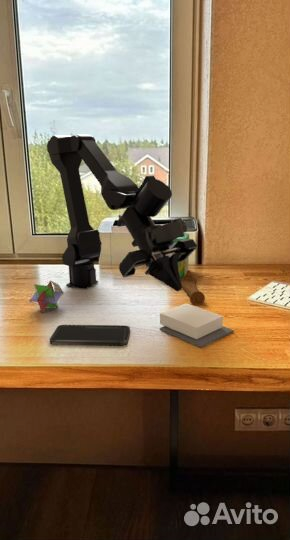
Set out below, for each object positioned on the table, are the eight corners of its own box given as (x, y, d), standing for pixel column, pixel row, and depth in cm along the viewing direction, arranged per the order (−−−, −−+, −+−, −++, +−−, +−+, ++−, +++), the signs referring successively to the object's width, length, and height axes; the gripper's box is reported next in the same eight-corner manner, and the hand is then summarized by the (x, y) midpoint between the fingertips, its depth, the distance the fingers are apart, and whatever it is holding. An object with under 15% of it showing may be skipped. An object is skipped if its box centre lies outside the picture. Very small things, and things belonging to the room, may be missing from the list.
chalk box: (153, 277, 118) (153, 226, 114) (159, 268, 127) (159, 220, 122) (185, 279, 116) (186, 227, 112) (189, 269, 125) (190, 221, 120)
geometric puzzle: (48, 310, 89) (57, 276, 91) (20, 307, 91) (30, 273, 93) (62, 319, 95) (70, 286, 98) (36, 315, 97) (44, 284, 100)
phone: (126, 343, 77) (47, 341, 78) (126, 348, 77) (48, 346, 78) (130, 325, 84) (58, 324, 85) (130, 330, 85) (59, 329, 86)
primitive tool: (175, 281, 115) (175, 269, 114) (194, 280, 116) (194, 268, 115) (190, 306, 97) (190, 293, 96) (212, 305, 98) (213, 291, 97)
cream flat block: (159, 313, 84) (197, 327, 77) (185, 303, 89) (222, 316, 82) (159, 325, 85) (196, 340, 78) (185, 314, 90) (222, 328, 83)
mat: (160, 329, 84) (159, 328, 84) (192, 316, 90) (192, 314, 90) (201, 348, 76) (201, 346, 76) (233, 331, 82) (233, 330, 82)
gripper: (126, 211, 77) (168, 280, 73) (192, 202, 89) (231, 260, 85) (103, 245, 85) (139, 309, 80) (166, 232, 97) (200, 287, 92)
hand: (179, 290), depth 84 cm, fingers closed
